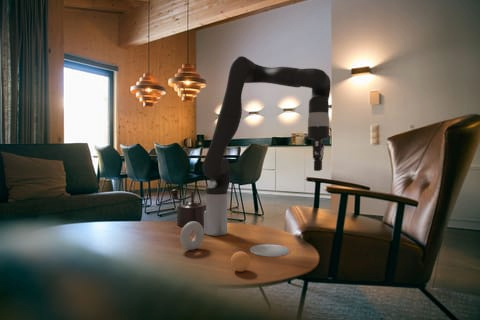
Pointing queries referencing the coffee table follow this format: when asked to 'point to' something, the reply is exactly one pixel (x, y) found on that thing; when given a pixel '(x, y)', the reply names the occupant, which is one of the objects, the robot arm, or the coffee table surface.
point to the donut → (186, 233)
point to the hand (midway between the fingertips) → (318, 170)
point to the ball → (240, 261)
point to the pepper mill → (188, 210)
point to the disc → (270, 250)
